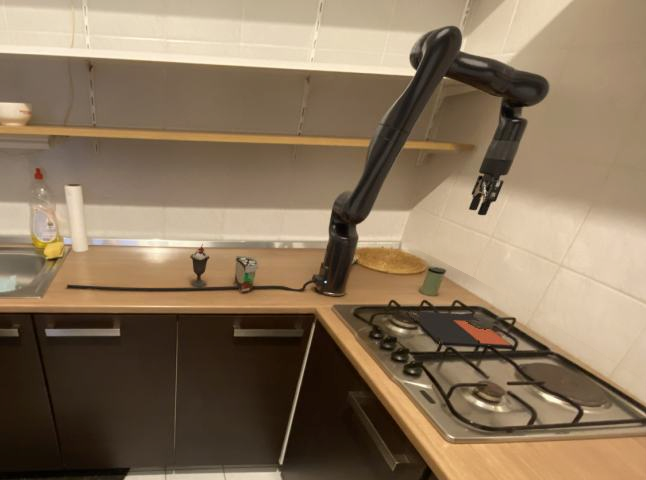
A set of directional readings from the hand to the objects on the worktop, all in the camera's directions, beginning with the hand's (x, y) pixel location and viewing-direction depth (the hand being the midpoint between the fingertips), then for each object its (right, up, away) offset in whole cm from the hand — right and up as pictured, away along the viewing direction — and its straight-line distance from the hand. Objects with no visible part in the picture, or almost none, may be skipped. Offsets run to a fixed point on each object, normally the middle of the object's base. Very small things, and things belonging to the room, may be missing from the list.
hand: (476, 212), depth 125 cm
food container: (-73, -23, +11) cm, 78 cm away
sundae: (-90, -22, +13) cm, 94 cm away
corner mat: (-15, -39, -11) cm, 43 cm away
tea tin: (-7, -24, +13) cm, 29 cm away
